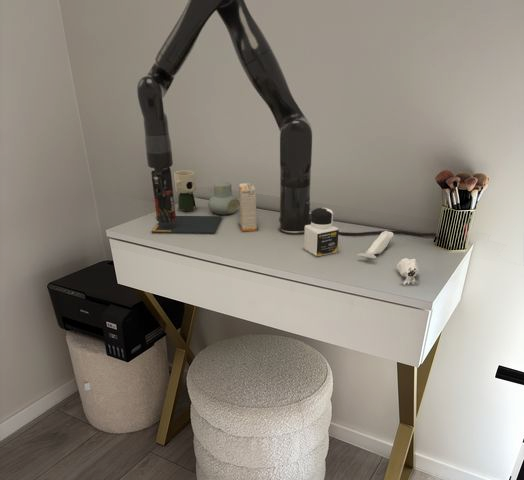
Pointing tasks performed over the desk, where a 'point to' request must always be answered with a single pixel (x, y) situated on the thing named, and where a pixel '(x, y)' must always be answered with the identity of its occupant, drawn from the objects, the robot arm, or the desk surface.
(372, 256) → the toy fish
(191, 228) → the mat
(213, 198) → the grey green rounded piece
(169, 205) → the deodorant
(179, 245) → the desk surface
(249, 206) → the supplement box
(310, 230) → the medicine bottle
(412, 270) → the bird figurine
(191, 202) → the character mug
